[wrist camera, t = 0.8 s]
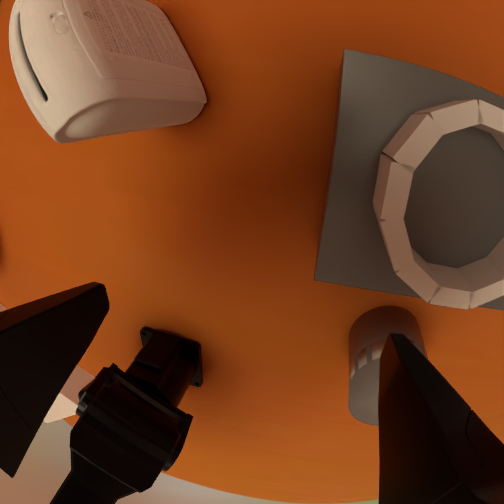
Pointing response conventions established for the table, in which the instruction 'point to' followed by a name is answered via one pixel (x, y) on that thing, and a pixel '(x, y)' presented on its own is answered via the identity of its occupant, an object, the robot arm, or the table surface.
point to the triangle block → (67, 393)
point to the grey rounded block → (374, 355)
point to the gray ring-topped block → (415, 185)
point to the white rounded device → (101, 67)
